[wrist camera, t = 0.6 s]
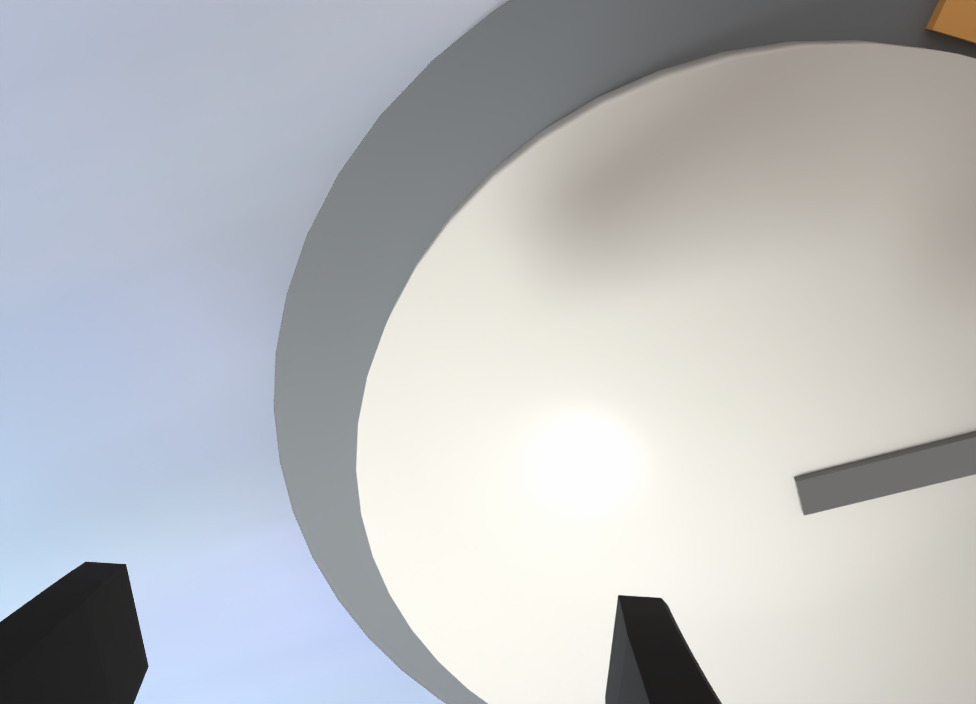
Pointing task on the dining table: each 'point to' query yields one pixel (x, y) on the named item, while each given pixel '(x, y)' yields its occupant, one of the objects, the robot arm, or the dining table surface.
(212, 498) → the dining table surface
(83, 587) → the robot arm
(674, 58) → the stand base
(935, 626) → the dial
